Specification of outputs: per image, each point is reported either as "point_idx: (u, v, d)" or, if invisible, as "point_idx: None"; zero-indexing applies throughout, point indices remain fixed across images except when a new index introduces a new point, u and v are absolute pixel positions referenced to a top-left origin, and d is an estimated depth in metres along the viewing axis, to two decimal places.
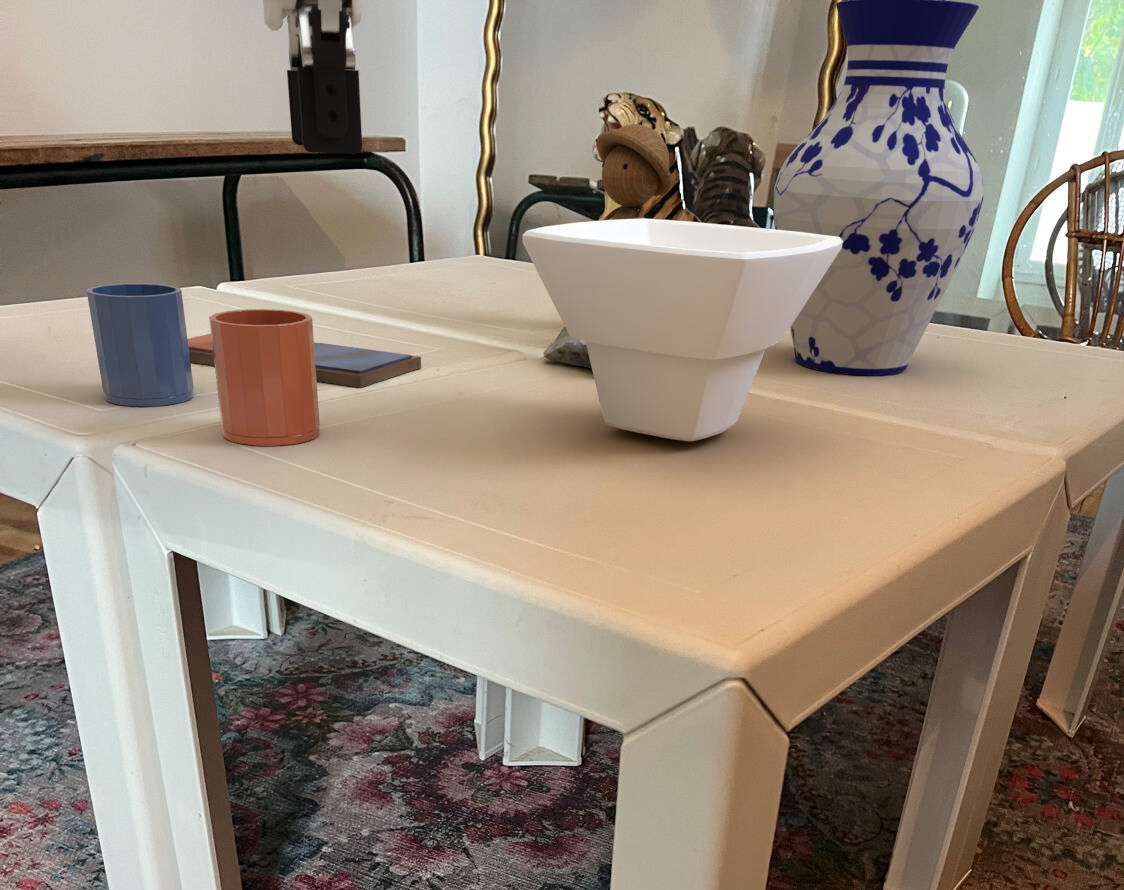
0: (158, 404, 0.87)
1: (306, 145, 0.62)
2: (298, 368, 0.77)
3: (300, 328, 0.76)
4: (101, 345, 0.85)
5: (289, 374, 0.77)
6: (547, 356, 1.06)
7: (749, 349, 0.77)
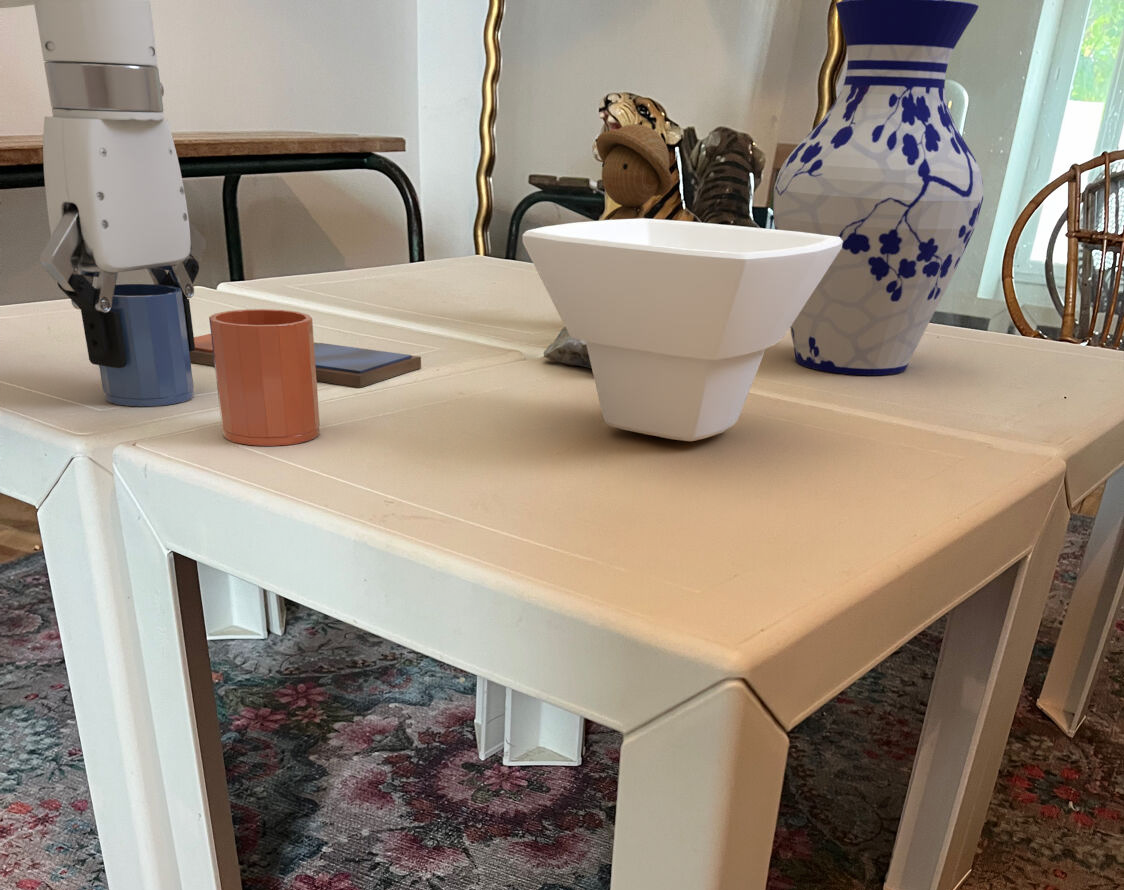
0: (158, 404, 0.87)
1: (90, 359, 0.85)
2: (298, 368, 0.77)
3: (300, 328, 0.76)
4: None
5: (289, 374, 0.77)
6: (547, 356, 1.06)
7: (749, 349, 0.77)
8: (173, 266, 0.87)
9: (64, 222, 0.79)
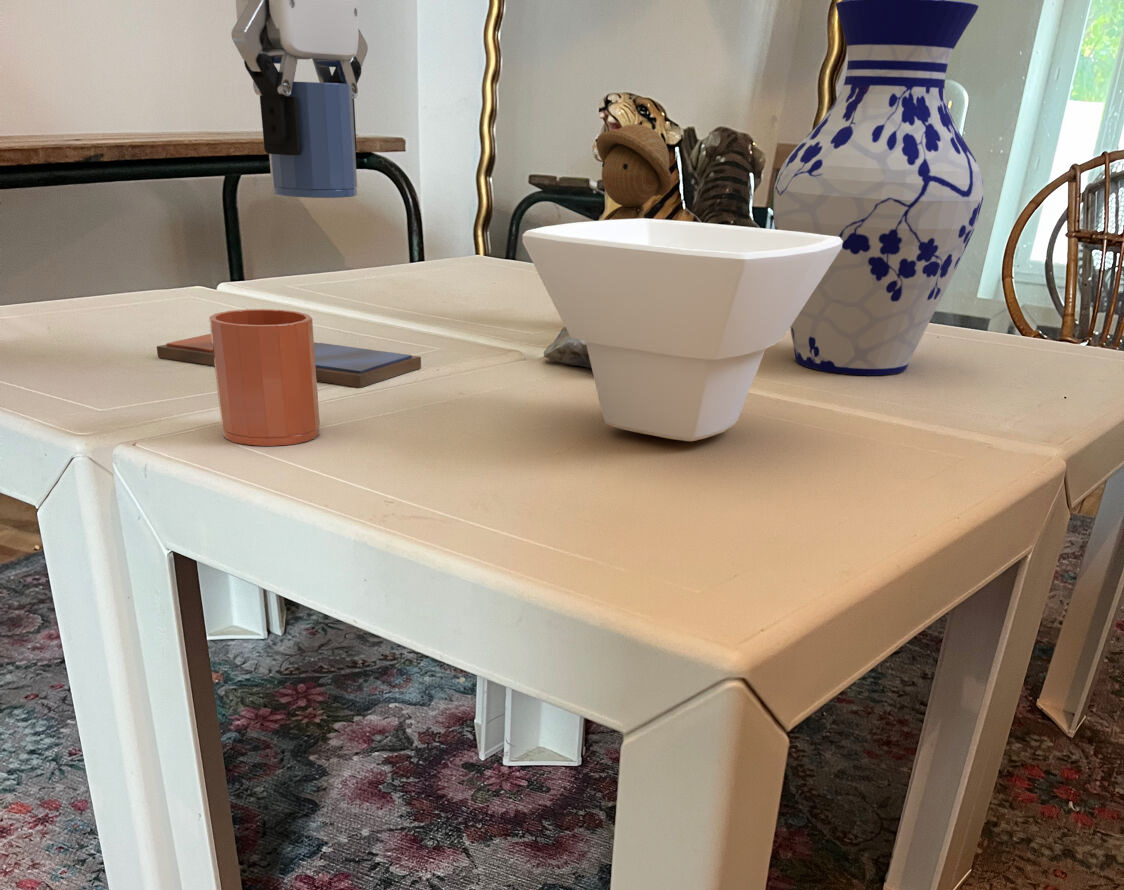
0: (328, 196, 0.90)
1: (265, 149, 0.89)
2: (298, 368, 0.77)
3: (300, 328, 0.76)
4: None
5: (289, 374, 0.77)
6: (547, 356, 1.06)
7: (749, 349, 0.77)
8: (342, 62, 0.90)
9: (254, 0, 0.82)
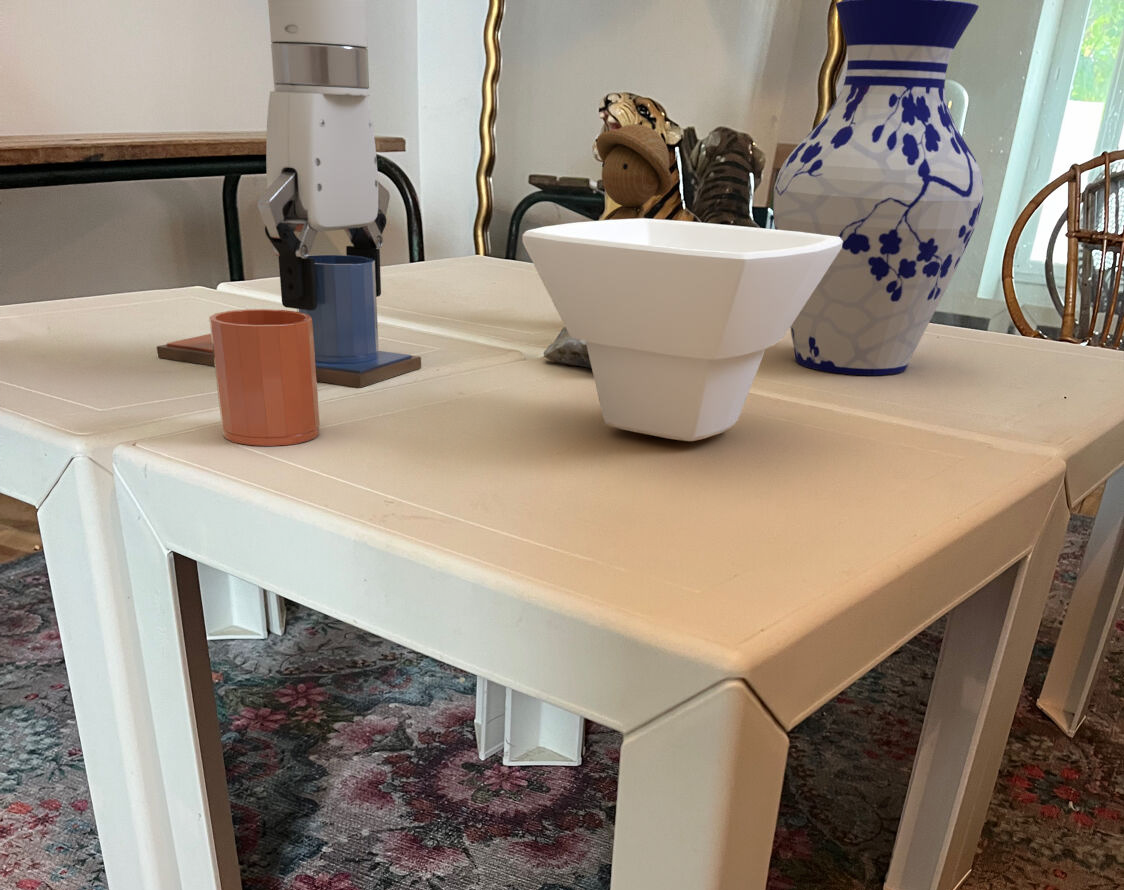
0: (352, 362, 0.98)
1: (283, 302, 0.94)
2: (298, 368, 0.77)
3: (300, 328, 0.76)
4: None
5: (289, 374, 0.77)
6: (547, 356, 1.06)
7: (749, 349, 0.77)
8: None
9: (282, 178, 0.89)
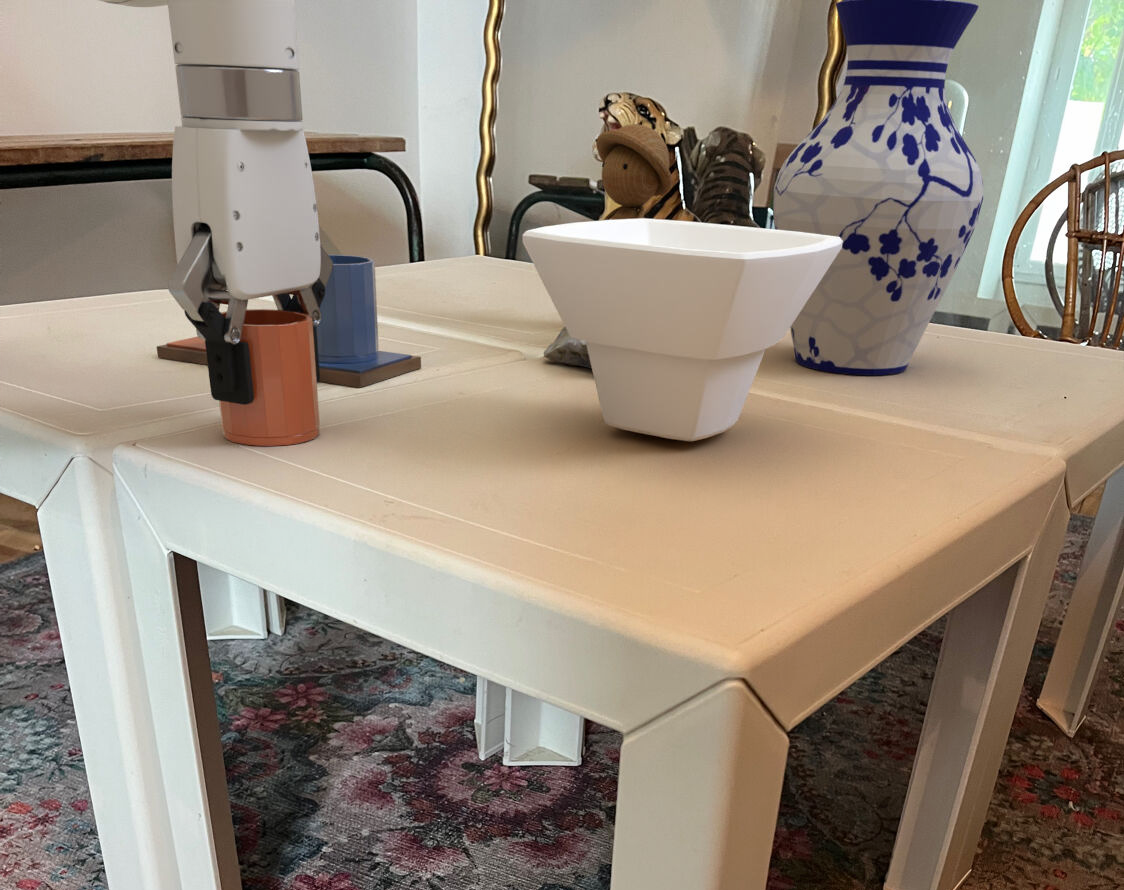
0: (352, 362, 0.98)
1: (212, 394, 0.77)
2: (298, 368, 0.77)
3: (300, 328, 0.76)
4: None
5: (289, 374, 0.77)
6: (547, 356, 1.06)
7: (749, 349, 0.77)
8: (302, 291, 0.79)
9: (195, 244, 0.70)
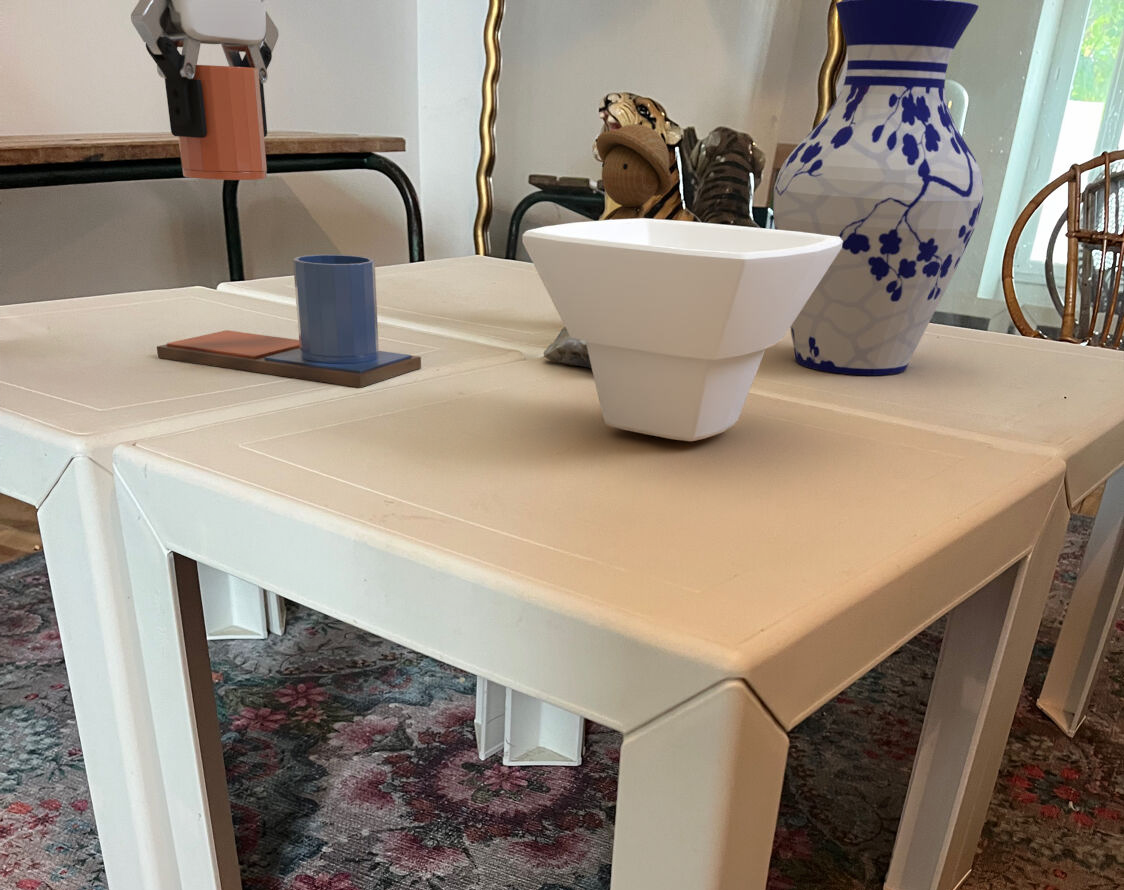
0: (352, 362, 0.98)
1: (172, 131, 0.90)
2: (245, 109, 0.90)
3: (246, 72, 0.89)
4: (305, 308, 0.96)
5: (238, 113, 0.90)
6: (547, 356, 1.06)
7: (749, 349, 0.77)
8: (249, 47, 0.92)
9: None
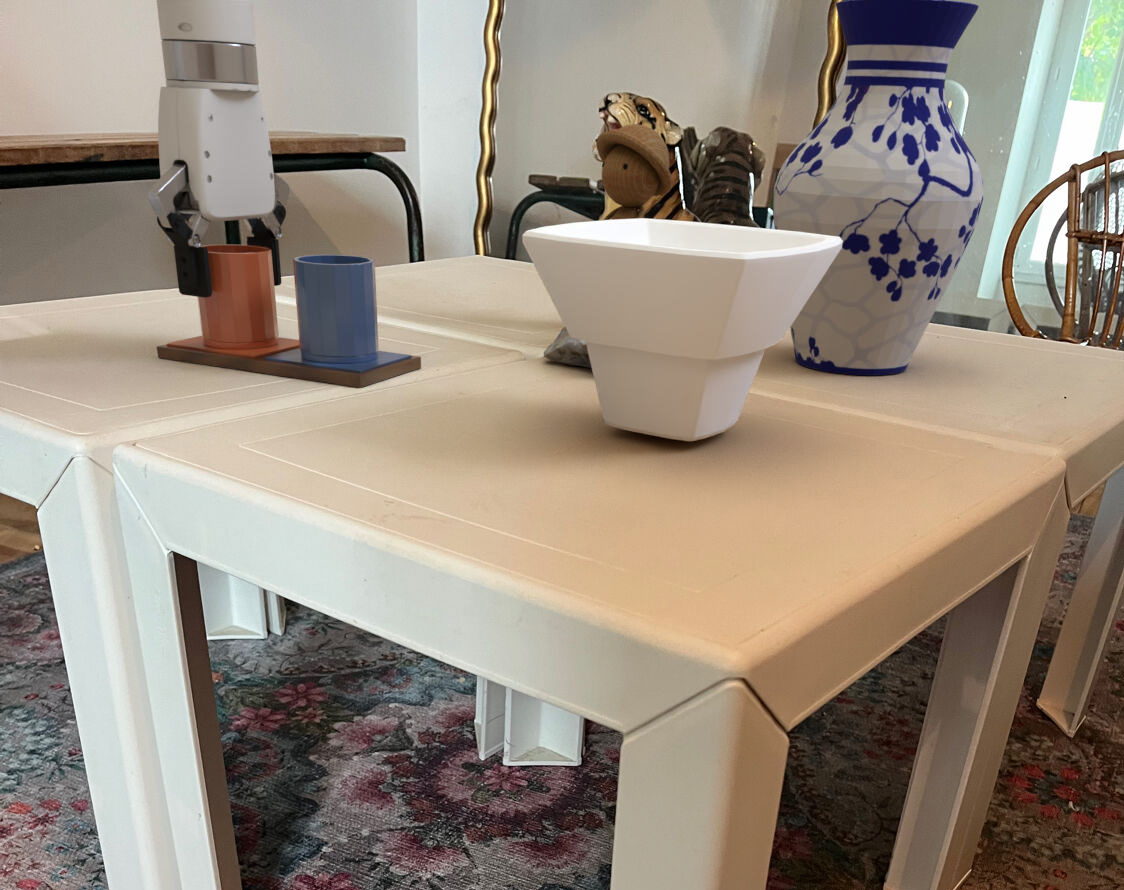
0: (352, 362, 0.98)
1: (180, 290, 0.98)
2: (260, 288, 1.00)
3: (261, 256, 0.99)
4: (305, 308, 0.96)
5: (253, 292, 1.00)
6: (547, 356, 1.06)
7: (749, 349, 0.77)
8: None
9: (173, 169, 0.92)
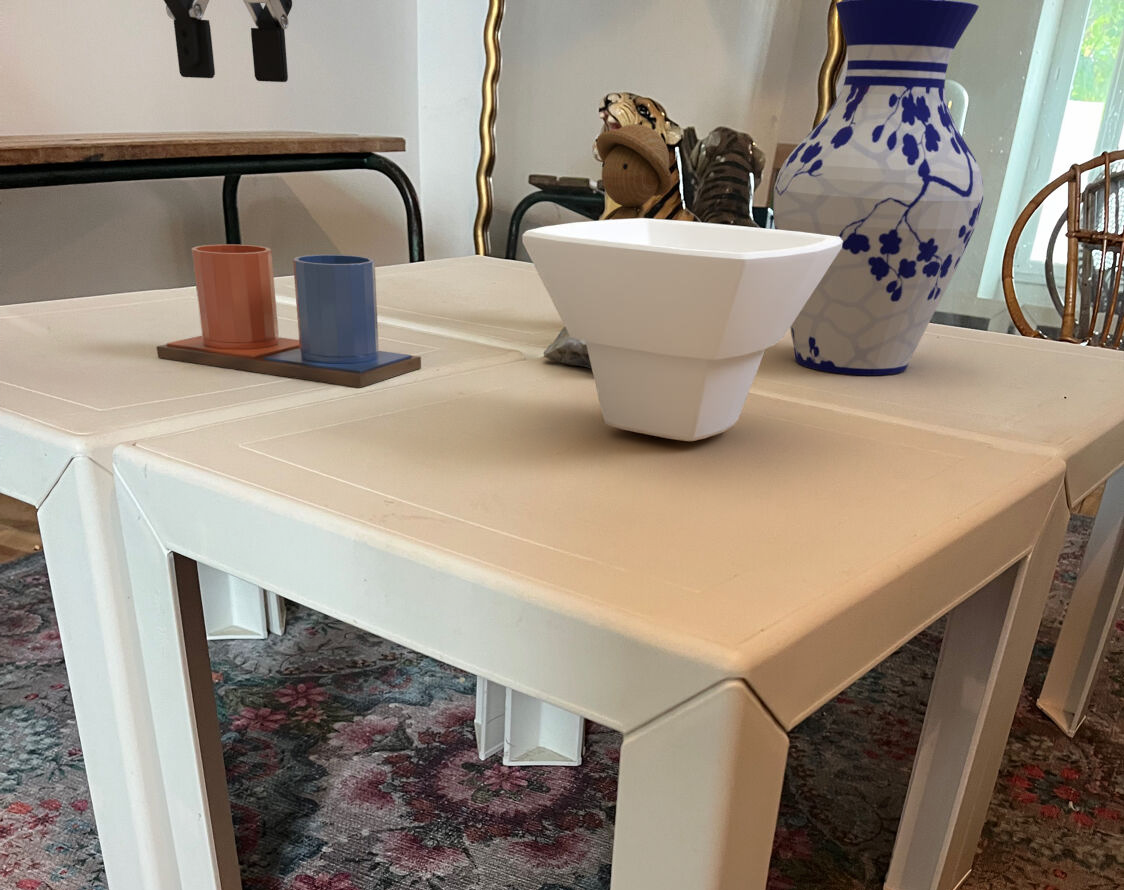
0: (352, 362, 0.98)
1: (180, 72, 0.92)
2: (260, 288, 1.00)
3: (261, 256, 0.99)
4: (305, 308, 0.96)
5: (253, 292, 1.00)
6: (547, 356, 1.06)
7: (749, 349, 0.77)
8: None
9: None
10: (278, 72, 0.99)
